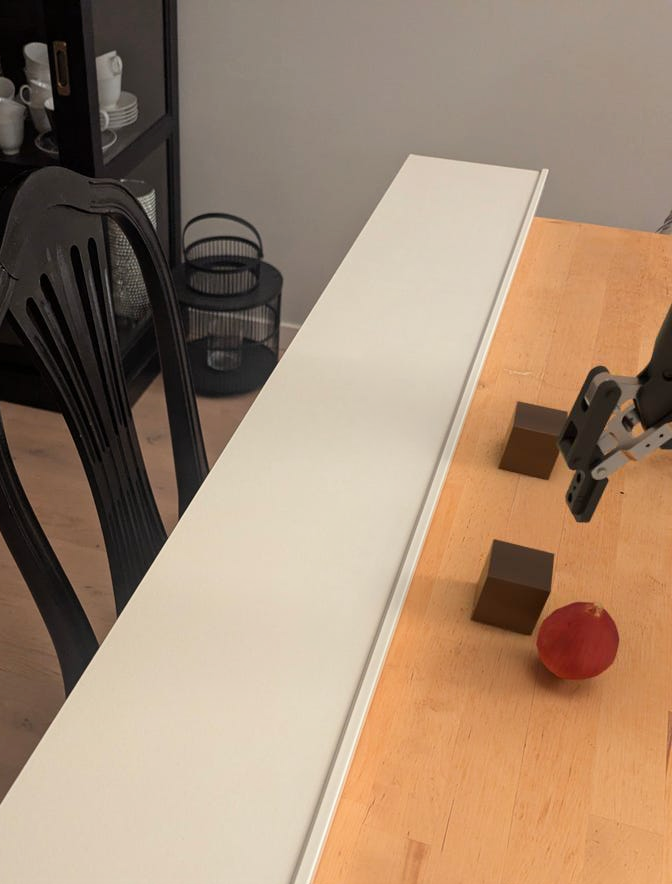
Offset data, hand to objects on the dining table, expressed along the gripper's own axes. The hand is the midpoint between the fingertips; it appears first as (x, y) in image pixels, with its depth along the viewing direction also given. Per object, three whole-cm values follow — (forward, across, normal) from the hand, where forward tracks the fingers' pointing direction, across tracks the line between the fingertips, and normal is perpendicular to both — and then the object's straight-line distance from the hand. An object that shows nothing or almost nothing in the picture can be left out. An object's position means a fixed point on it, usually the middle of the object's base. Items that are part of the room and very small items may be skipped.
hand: (639, 517), depth 62 cm
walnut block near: (+15, -3, +7) cm, 17 cm away
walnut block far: (+15, +5, +29) cm, 33 cm away
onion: (+16, 0, 0) cm, 16 cm away
